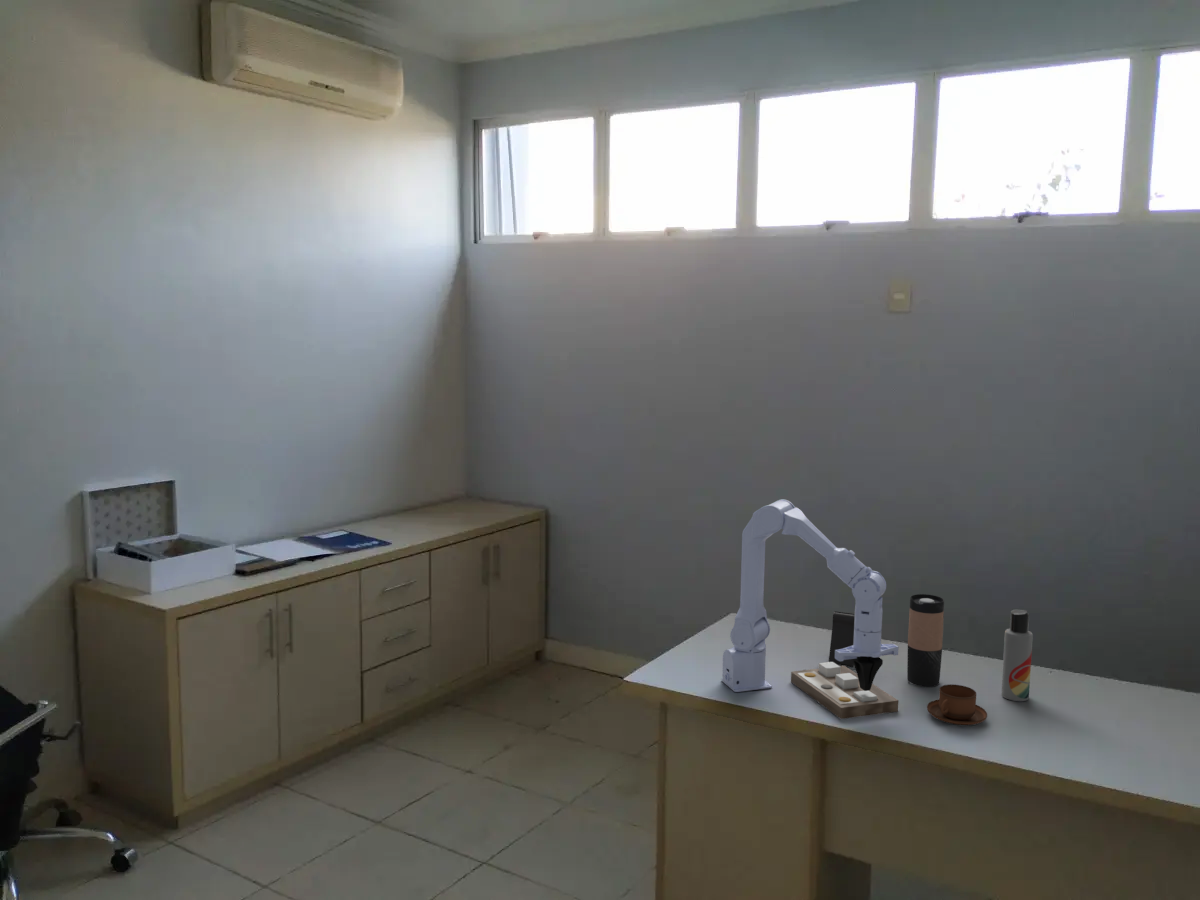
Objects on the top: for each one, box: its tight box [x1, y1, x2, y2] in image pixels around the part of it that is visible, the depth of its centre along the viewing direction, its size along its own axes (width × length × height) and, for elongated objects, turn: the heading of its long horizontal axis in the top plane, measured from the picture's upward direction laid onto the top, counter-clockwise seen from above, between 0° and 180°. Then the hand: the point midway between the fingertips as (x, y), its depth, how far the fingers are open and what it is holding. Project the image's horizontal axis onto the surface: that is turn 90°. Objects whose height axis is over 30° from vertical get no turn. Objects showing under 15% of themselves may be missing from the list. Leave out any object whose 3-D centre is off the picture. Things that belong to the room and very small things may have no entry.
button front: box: [853, 691, 877, 702], centre depth 204 cm, size 4×4×3 cm
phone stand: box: [828, 610, 855, 668], centre depth 234 cm, size 9×6×12 cm, turn 153°
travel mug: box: [906, 593, 945, 688], centre depth 219 cm, size 8×8×20 cm
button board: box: [790, 665, 899, 720], centre depth 211 cm, size 14×22×3 cm, turn 17°
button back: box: [818, 661, 841, 677], centre depth 218 cm, size 4×4×3 cm
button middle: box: [835, 673, 858, 689], centre depth 211 cm, size 4×4×3 cm
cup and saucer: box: [926, 683, 988, 726], centre depth 199 cm, size 12×12×6 cm
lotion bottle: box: [1001, 609, 1034, 702], centre depth 210 cm, size 6×6×20 cm
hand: (865, 689), depth 204 cm, fingers closed
